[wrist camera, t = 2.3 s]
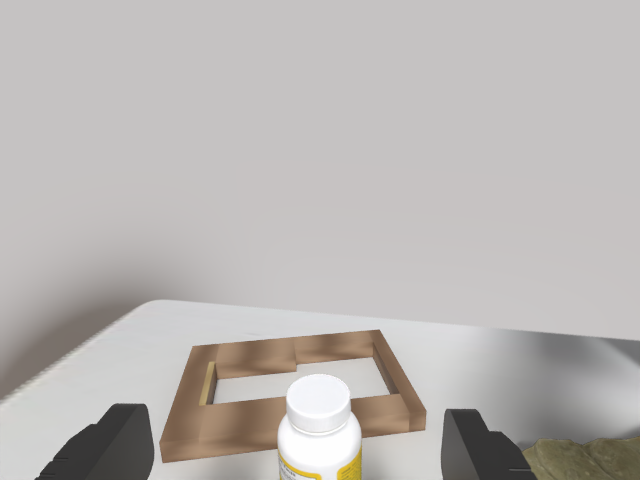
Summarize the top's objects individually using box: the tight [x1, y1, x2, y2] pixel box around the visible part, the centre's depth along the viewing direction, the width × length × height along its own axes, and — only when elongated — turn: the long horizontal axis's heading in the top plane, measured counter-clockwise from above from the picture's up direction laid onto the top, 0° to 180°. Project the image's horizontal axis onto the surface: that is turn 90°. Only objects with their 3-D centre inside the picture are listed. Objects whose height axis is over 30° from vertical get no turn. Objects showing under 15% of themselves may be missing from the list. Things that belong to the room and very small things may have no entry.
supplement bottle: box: [277, 374, 362, 480], centre depth 24 cm, size 5×5×10 cm
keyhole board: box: [159, 330, 426, 463], centre depth 38 cm, size 22×14×2 cm, turn 98°
